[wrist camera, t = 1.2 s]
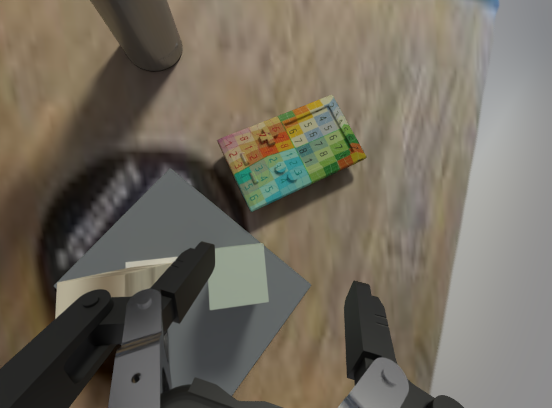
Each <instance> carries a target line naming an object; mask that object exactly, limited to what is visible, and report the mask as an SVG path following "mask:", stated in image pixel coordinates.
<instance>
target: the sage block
mask: <svg viewBox="0 0 552 408" xmlns="http://www.w3.org/2000/svg"><path fill="white" fill-rule="evenodd" d="M208 288H209V306H210V310H215V309H222V308H229V307H237V306H244V305H251V304H258V303H265V302H269V297H268V287H267V276H266V266H265V255H264V245H263V243H256V244H247V245H238V246H229V247H220V248H215V268H214V270H213V273H212V274H211V276H210V278H209V279H208Z"/></svg>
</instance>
